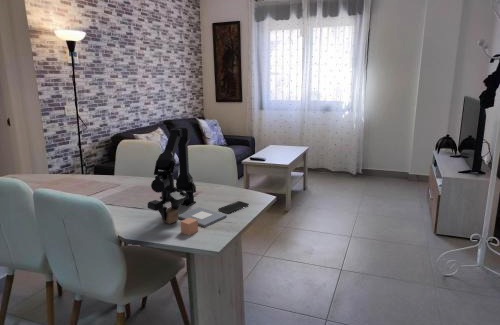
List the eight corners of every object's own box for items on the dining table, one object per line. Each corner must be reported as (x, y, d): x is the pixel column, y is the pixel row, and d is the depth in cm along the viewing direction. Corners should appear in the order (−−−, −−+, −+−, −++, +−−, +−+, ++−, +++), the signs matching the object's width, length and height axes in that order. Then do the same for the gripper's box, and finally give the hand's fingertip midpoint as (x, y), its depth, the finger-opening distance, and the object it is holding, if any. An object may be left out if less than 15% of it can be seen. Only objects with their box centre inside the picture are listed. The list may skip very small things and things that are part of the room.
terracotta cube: (181, 232, 147) (180, 221, 146) (190, 228, 151) (189, 217, 150) (189, 235, 144) (188, 224, 143) (198, 231, 148) (197, 220, 147)
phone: (217, 208, 171) (238, 200, 181) (217, 211, 171) (238, 202, 182) (228, 212, 166) (250, 204, 176) (228, 215, 166) (250, 206, 177)
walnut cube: (162, 221, 158) (161, 210, 156) (171, 217, 161) (170, 207, 160) (169, 223, 155) (168, 213, 153) (178, 220, 158) (177, 209, 157)
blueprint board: (177, 217, 163) (177, 215, 162) (199, 208, 173) (199, 206, 173) (204, 227, 152) (204, 224, 151) (226, 217, 162) (226, 214, 162)
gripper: (161, 194, 142) (164, 230, 146) (195, 183, 156) (197, 216, 160) (145, 189, 149) (148, 223, 153) (179, 179, 163) (181, 210, 167)
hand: (170, 218), depth 158 cm, fingers closed on walnut cube, 5 cm apart
